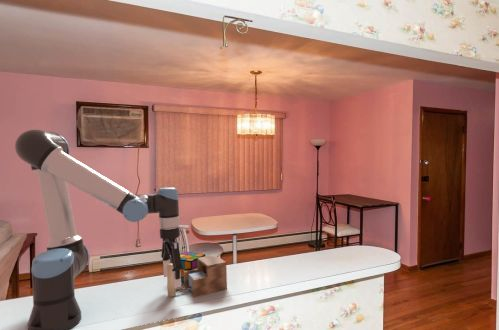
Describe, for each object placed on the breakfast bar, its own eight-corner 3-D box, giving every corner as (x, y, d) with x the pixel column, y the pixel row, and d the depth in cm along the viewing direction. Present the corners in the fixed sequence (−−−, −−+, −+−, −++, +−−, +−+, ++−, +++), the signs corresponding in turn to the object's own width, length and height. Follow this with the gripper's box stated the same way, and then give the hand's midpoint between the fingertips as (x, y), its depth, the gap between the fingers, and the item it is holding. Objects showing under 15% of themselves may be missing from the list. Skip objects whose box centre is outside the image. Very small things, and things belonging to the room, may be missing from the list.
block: (170, 298, 124) (169, 267, 124) (165, 293, 129) (164, 263, 129) (208, 289, 132) (207, 260, 131) (202, 284, 137) (201, 256, 137)
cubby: (194, 296, 125) (193, 268, 125) (184, 286, 136) (183, 260, 136) (227, 288, 132) (226, 262, 132) (215, 279, 143) (214, 254, 143)
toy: (171, 280, 143) (170, 258, 143) (185, 272, 153) (185, 251, 153) (192, 284, 138) (191, 261, 138) (206, 276, 148) (205, 254, 148)
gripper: (189, 231, 118) (192, 289, 118) (170, 221, 139) (172, 270, 140) (169, 234, 114) (171, 294, 114) (152, 223, 136) (154, 274, 136)
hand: (172, 281), depth 127 cm, fingers open, 13 cm apart
